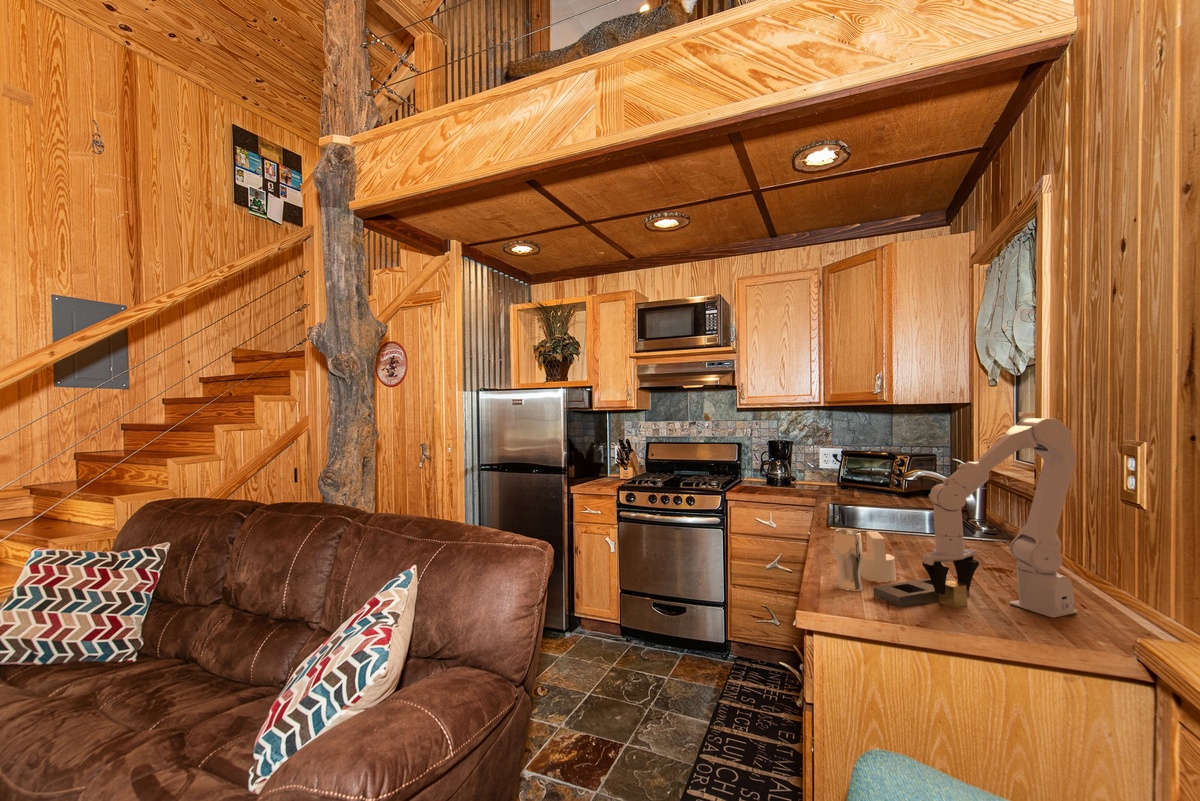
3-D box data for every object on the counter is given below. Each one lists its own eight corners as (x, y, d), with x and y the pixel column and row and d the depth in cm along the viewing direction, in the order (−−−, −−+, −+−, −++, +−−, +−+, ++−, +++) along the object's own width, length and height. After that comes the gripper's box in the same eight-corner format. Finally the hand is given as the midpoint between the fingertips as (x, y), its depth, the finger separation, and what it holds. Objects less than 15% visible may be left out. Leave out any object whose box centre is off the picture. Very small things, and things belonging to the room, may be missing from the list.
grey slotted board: (940, 585, 139) (940, 576, 139) (969, 595, 131) (969, 585, 131) (873, 597, 132) (873, 587, 133) (900, 607, 125) (899, 597, 125)
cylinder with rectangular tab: (899, 583, 142) (897, 538, 143) (863, 581, 145) (861, 538, 145) (891, 573, 151) (888, 531, 151) (857, 572, 153) (854, 531, 154)
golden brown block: (967, 606, 124) (966, 584, 124) (954, 608, 123) (953, 587, 123) (952, 600, 128) (950, 580, 128) (939, 603, 127) (938, 582, 127)
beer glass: (830, 586, 142) (827, 530, 143) (850, 582, 145) (846, 527, 145) (850, 593, 136) (847, 535, 136) (871, 589, 138) (867, 532, 139)
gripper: (956, 528, 132) (959, 582, 132) (911, 534, 128) (914, 589, 128) (983, 534, 125) (987, 591, 125) (937, 540, 121) (940, 599, 121)
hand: (952, 591), depth 126 cm, fingers open, 7 cm apart
